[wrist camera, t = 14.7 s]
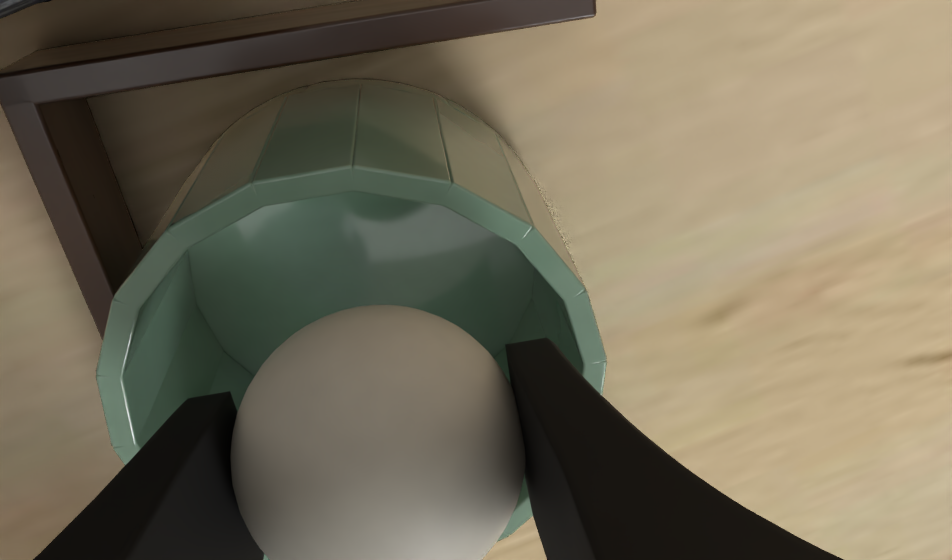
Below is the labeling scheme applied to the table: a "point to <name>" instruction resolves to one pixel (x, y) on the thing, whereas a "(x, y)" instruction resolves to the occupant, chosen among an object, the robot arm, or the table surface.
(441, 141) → the waste bin
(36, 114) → the bar
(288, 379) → the off-white sphere
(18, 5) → the small box
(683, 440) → the table surface
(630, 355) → the table surface
